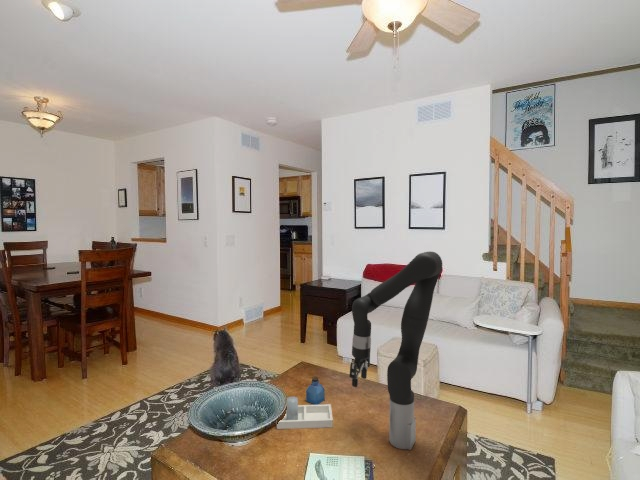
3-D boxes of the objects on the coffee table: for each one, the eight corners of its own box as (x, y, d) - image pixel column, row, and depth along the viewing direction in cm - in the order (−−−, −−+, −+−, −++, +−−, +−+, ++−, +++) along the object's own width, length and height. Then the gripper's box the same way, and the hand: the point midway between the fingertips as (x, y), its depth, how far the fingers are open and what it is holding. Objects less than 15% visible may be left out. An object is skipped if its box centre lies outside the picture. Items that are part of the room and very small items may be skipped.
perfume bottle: (316, 407, 157) (316, 382, 156) (306, 403, 161) (306, 378, 160) (324, 401, 162) (324, 377, 161) (314, 397, 166) (314, 373, 165)
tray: (330, 412, 153) (330, 404, 152) (332, 429, 141) (332, 420, 140) (279, 414, 152) (279, 405, 151) (276, 431, 140) (276, 422, 139)
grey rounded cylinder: (300, 418, 147) (300, 398, 146) (293, 424, 142) (293, 403, 142) (291, 415, 149) (290, 395, 149) (283, 420, 145) (283, 400, 145)
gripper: (362, 352, 132) (359, 392, 134) (376, 341, 144) (374, 378, 146) (345, 347, 136) (343, 386, 138) (360, 337, 148) (358, 372, 150)
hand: (359, 382), depth 142 cm, fingers open, 8 cm apart
